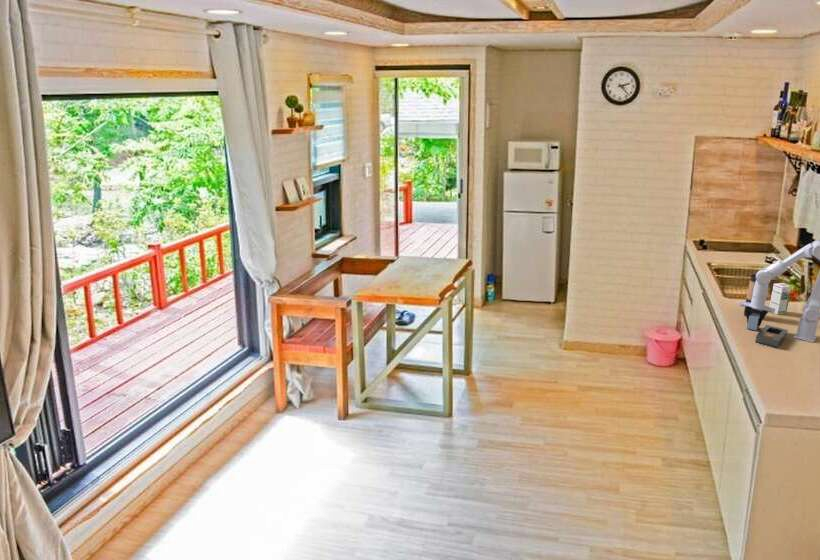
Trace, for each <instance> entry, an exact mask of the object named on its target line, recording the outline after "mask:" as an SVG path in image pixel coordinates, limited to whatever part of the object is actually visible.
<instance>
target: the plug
mask: <svg viewBox="0 0 820 560" xmlns="http://www.w3.org/2000/svg"><path fill="white" fill-rule="evenodd" d="M759 318H760V314H755V313H752V314H751V315H750V316H749V320H748V324H747V325H746V329H747V330H752V331H757V330H759V328H760V326H758V322H759Z"/></svg>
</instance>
